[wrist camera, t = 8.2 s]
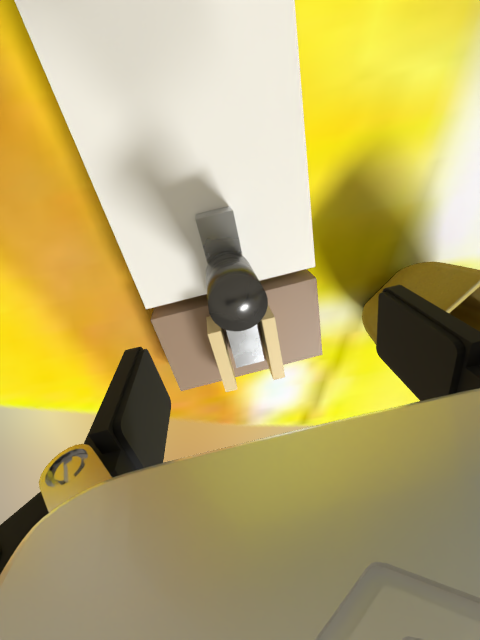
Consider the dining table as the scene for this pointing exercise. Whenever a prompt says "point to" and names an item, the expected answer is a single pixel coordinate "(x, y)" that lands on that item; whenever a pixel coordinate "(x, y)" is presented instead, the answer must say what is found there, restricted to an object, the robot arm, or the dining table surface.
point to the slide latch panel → (192, 158)
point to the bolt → (232, 285)
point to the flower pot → (434, 292)
